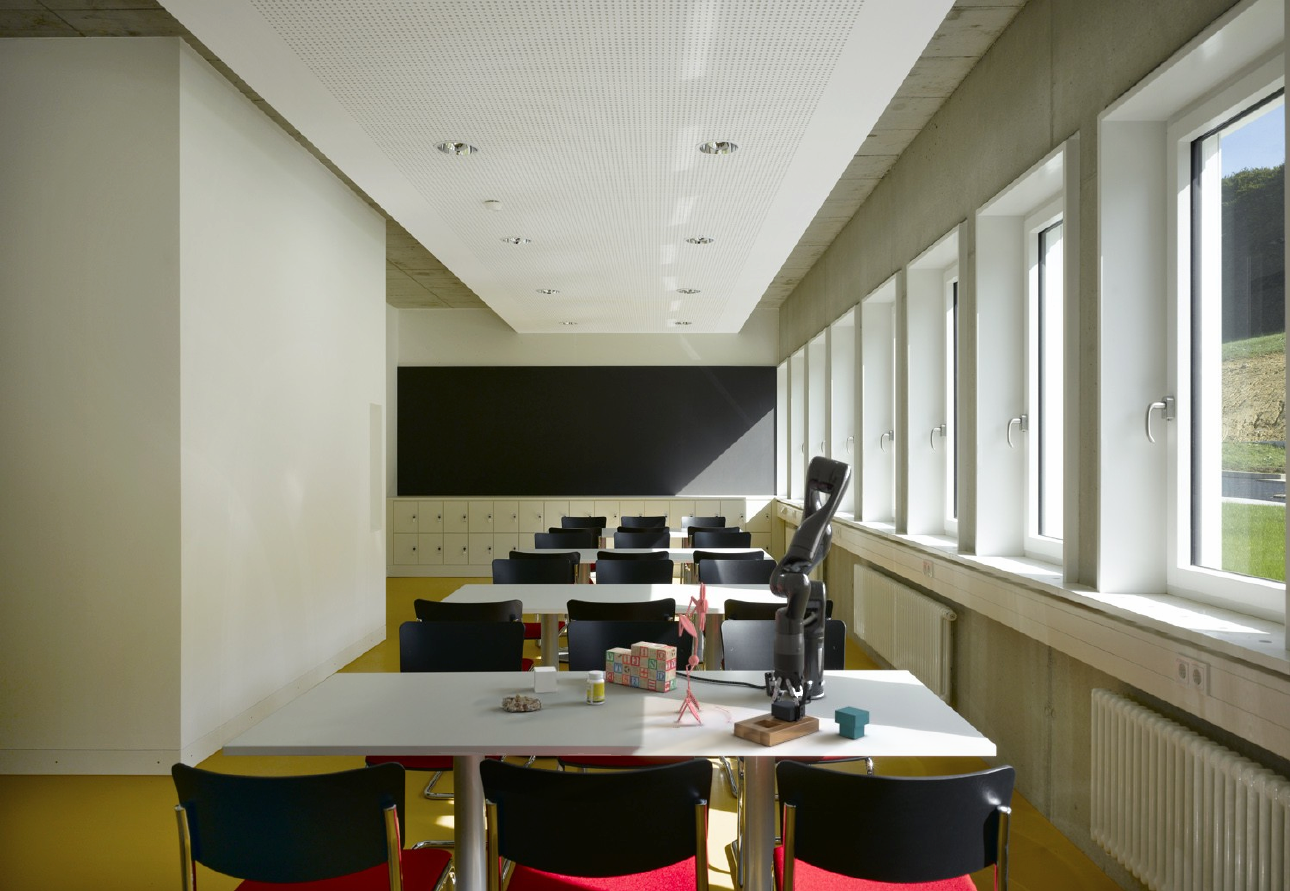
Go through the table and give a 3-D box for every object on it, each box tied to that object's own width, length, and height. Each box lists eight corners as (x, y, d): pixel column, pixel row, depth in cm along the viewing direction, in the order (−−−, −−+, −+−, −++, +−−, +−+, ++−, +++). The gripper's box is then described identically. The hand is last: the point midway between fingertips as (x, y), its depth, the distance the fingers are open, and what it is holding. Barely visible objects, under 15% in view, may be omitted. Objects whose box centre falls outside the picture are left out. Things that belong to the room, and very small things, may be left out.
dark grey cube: (770, 727, 217) (771, 703, 217) (785, 723, 221) (786, 699, 221) (790, 733, 212) (790, 708, 212) (804, 728, 216) (805, 704, 216)
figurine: (672, 731, 213) (674, 589, 214) (677, 703, 239) (679, 576, 240) (734, 734, 212) (737, 591, 213) (733, 705, 237) (735, 578, 238)
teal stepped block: (834, 734, 213) (834, 710, 213) (848, 730, 217) (848, 706, 217) (855, 740, 209) (855, 715, 209) (869, 735, 213) (869, 711, 213)
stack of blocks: (604, 681, 262) (605, 640, 262) (616, 677, 267) (617, 637, 267) (665, 692, 250) (666, 649, 250) (676, 688, 255) (676, 646, 256)
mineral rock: (498, 703, 226) (505, 687, 234) (498, 718, 228) (505, 702, 235) (538, 706, 226) (544, 690, 234) (538, 721, 227) (544, 705, 235)
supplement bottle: (607, 701, 239) (607, 671, 239) (599, 706, 235) (599, 675, 235) (591, 699, 241) (592, 669, 241) (583, 703, 237) (584, 672, 237)
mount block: (733, 735, 211) (734, 722, 211) (783, 720, 225) (783, 708, 225) (769, 746, 203) (769, 733, 203) (819, 730, 216) (819, 718, 216)
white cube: (535, 693, 247) (535, 671, 247) (533, 687, 253) (534, 667, 253) (556, 692, 248) (556, 671, 248) (554, 686, 254) (554, 666, 254)
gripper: (821, 653, 214) (820, 721, 214) (775, 643, 225) (774, 709, 224) (803, 657, 209) (802, 727, 209) (757, 647, 220) (756, 714, 219)
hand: (788, 717), depth 217 cm, fingers closed on dark grey cube, 5 cm apart
